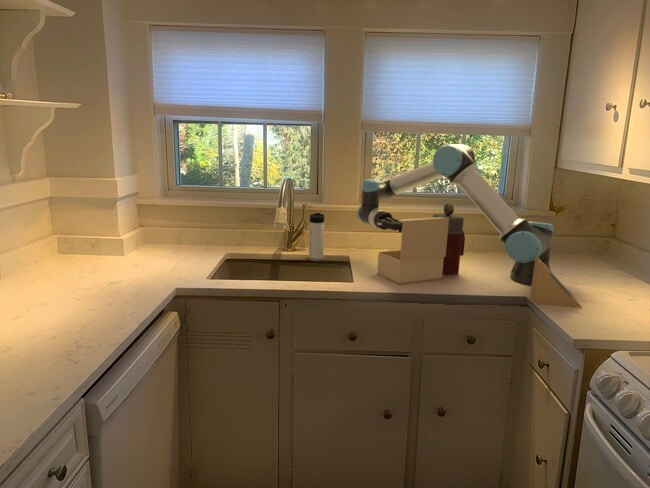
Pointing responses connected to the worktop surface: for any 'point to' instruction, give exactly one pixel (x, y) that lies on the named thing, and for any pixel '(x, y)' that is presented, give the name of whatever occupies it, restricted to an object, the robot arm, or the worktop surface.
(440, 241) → the mailer lid
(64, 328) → the worktop surface
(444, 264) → the red grinder
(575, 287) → the worktop surface
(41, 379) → the worktop surface
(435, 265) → the mailer box
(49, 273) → the worktop surface
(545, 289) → the sandwich container
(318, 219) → the travel mug
